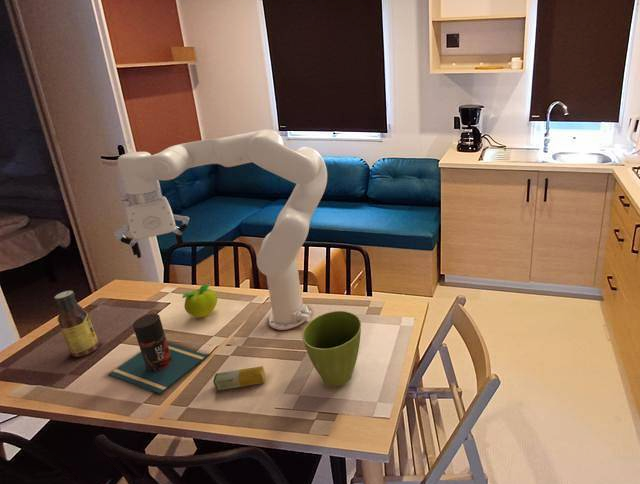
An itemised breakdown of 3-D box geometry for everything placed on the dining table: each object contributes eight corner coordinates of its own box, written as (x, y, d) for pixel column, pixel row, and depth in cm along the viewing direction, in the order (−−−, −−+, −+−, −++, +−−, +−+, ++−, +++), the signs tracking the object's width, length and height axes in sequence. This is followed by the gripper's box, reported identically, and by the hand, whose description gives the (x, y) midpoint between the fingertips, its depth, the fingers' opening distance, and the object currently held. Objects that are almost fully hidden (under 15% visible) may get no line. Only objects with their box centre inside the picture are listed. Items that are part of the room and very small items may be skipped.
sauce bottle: (104, 346, 118) (84, 291, 112) (78, 361, 113) (56, 303, 106) (92, 340, 121) (72, 285, 114) (67, 354, 115) (44, 297, 109)
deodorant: (158, 373, 108) (145, 329, 103) (141, 370, 109) (127, 326, 104) (177, 357, 113) (164, 315, 108) (160, 354, 114) (147, 312, 110)
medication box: (215, 392, 102) (211, 381, 101) (219, 383, 105) (215, 372, 103) (264, 383, 104) (261, 373, 103) (266, 375, 107) (263, 364, 105)
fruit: (182, 317, 131) (175, 292, 128) (210, 302, 138) (205, 278, 135) (196, 327, 126) (190, 301, 123) (225, 311, 134) (219, 286, 131)
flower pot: (302, 371, 109) (295, 324, 104) (352, 348, 117) (348, 303, 112) (319, 409, 97) (312, 358, 92) (374, 381, 105) (370, 332, 100)
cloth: (207, 356, 114) (207, 354, 114) (160, 394, 102) (159, 392, 101) (159, 340, 120) (158, 339, 120) (109, 374, 108) (108, 373, 108)
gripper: (103, 207, 100) (121, 266, 105) (183, 193, 110) (196, 247, 115) (105, 199, 105) (122, 255, 111) (181, 186, 115) (193, 238, 121)
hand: (160, 251), depth 113 cm, fingers open, 9 cm apart
